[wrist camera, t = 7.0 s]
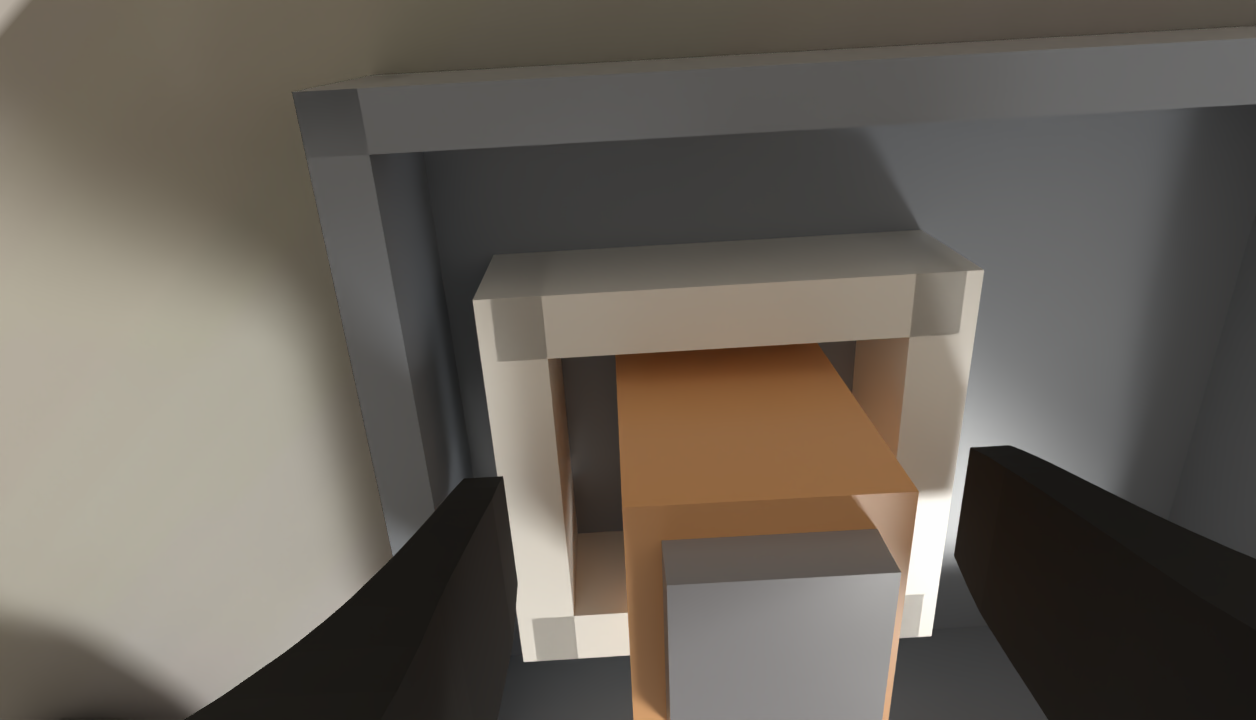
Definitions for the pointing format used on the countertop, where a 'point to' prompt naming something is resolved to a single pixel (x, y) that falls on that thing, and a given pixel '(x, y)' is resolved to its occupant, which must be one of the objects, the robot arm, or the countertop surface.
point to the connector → (758, 538)
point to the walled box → (801, 295)
